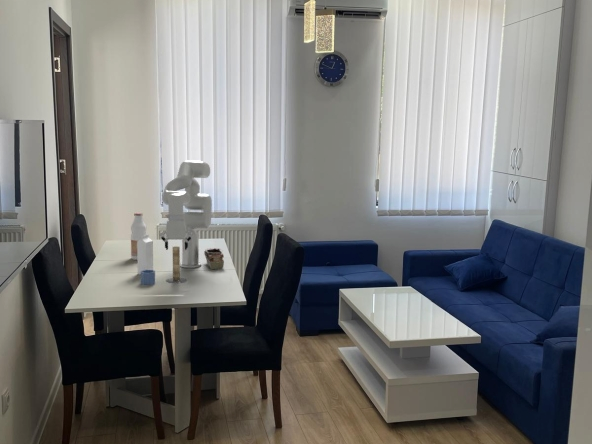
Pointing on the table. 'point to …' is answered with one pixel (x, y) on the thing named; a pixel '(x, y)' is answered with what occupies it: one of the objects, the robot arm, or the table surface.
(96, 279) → the table surface
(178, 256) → the wooden pestle
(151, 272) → the cup
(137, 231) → the fruit juice
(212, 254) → the decorative box
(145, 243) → the milk
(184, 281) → the coaster
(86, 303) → the table surface
